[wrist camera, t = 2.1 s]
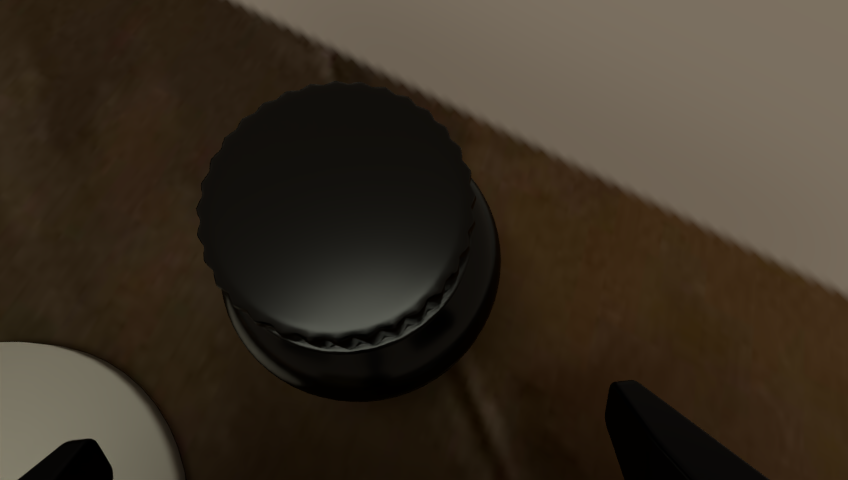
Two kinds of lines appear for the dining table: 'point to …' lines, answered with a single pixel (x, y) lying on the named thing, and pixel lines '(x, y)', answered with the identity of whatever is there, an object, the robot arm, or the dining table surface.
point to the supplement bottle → (349, 242)
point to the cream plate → (79, 413)
